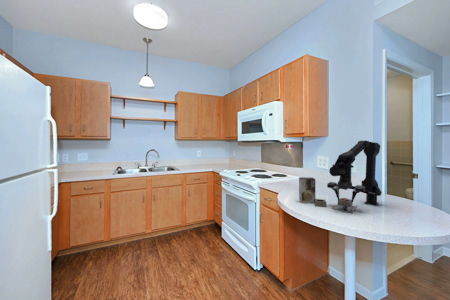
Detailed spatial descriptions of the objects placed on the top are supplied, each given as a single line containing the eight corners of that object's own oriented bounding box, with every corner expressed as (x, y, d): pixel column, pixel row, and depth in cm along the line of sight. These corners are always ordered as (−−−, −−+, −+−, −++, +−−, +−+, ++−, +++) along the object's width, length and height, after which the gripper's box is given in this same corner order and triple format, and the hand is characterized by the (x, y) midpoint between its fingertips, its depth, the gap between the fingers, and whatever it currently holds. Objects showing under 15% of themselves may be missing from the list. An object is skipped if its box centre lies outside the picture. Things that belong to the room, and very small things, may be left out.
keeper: (338, 204, 125) (339, 194, 124) (357, 207, 118) (357, 197, 117) (332, 209, 114) (332, 199, 114) (352, 213, 108) (352, 202, 107)
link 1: (314, 203, 126) (314, 198, 126) (324, 204, 124) (324, 199, 124) (315, 206, 120) (315, 201, 120) (326, 207, 118) (326, 202, 118)
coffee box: (312, 200, 133) (312, 177, 132) (315, 203, 126) (315, 178, 126) (298, 200, 134) (298, 177, 133) (301, 202, 127) (301, 178, 127)
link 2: (340, 202, 120) (340, 197, 120) (352, 204, 116) (352, 199, 116) (337, 205, 116) (337, 200, 116) (350, 207, 111) (350, 202, 111)
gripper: (324, 175, 116) (324, 200, 117) (361, 178, 103) (361, 207, 104) (330, 173, 124) (329, 197, 125) (365, 176, 111) (365, 203, 112)
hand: (345, 200), depth 116 cm, fingers open, 7 cm apart
